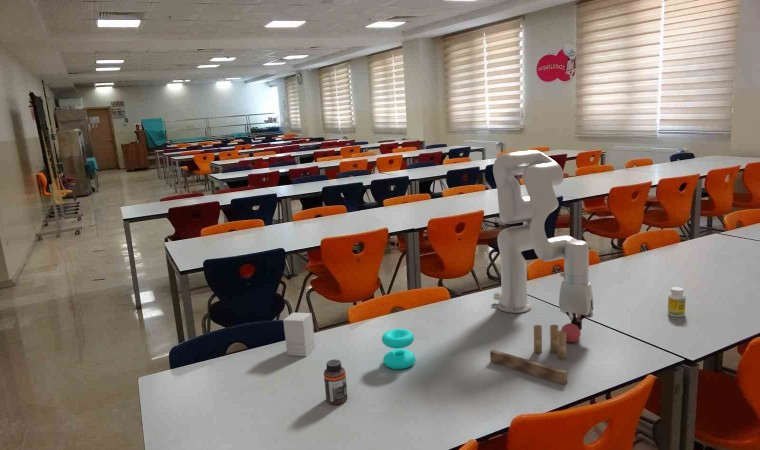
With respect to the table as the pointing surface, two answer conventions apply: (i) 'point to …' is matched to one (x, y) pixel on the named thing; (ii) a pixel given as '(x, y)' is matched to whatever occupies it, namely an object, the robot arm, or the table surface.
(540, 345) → the left back pin
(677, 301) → the supplement bottle
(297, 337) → the supplement box
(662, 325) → the table surface
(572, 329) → the ball
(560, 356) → the right back pin
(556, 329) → the front pin
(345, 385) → the supplement bottle
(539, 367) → the back wall
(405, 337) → the donuts
